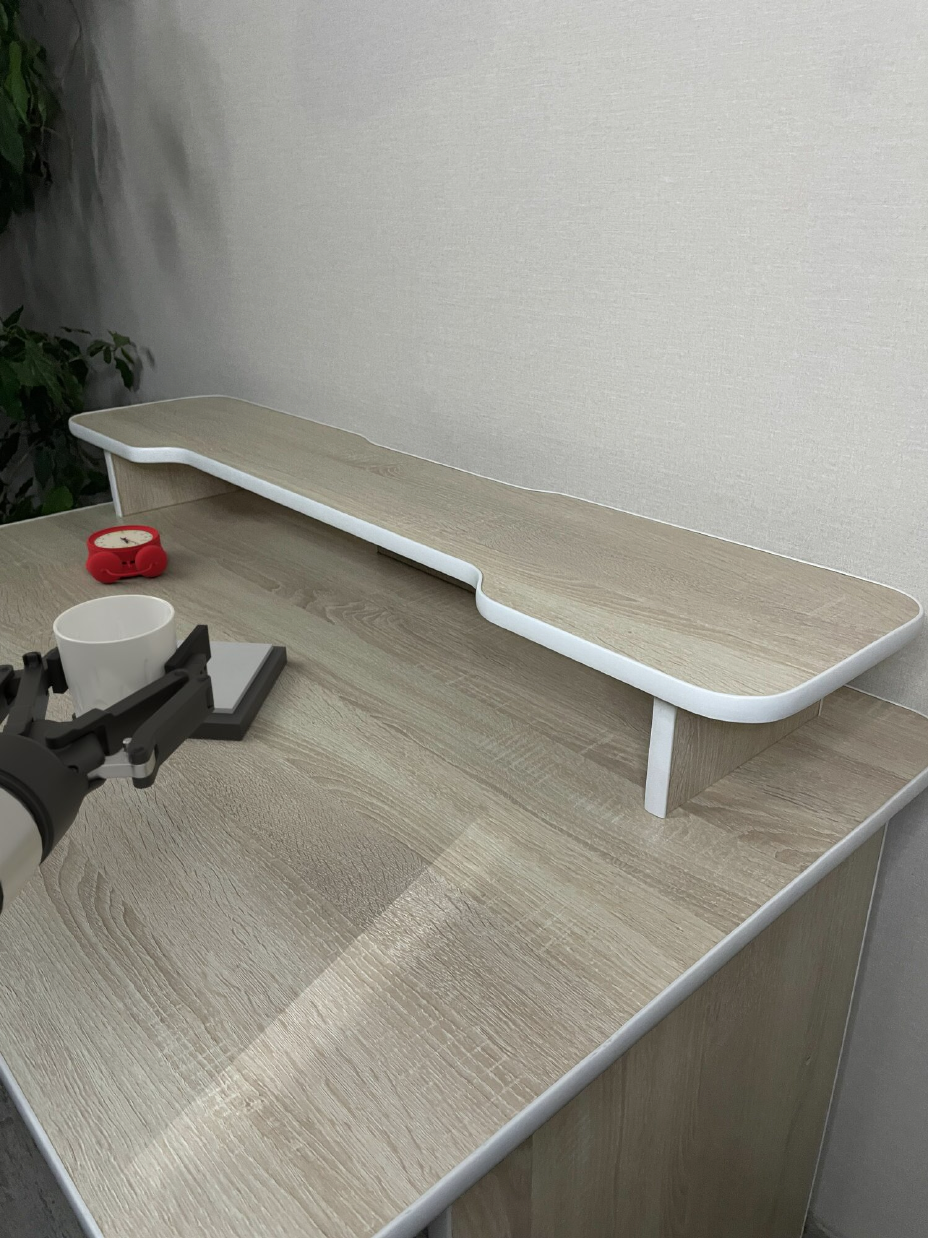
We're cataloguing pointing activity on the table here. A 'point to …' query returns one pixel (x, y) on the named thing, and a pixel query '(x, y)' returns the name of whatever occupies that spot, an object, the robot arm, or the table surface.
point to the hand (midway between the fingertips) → (150, 638)
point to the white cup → (114, 647)
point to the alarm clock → (125, 553)
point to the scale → (238, 686)
